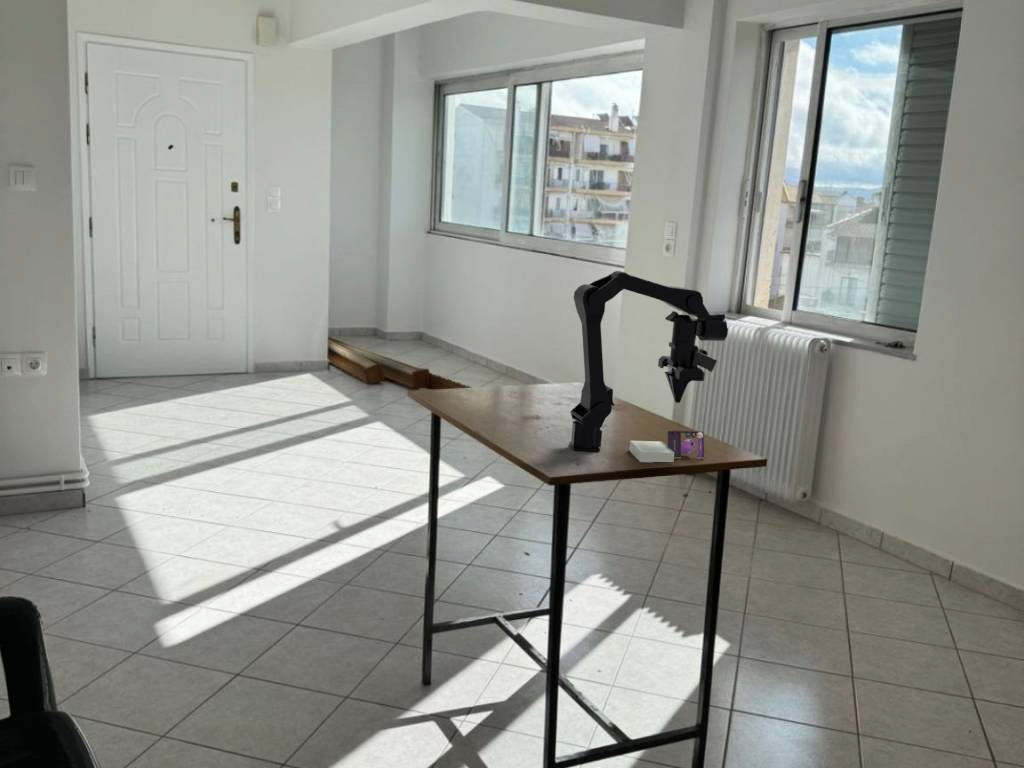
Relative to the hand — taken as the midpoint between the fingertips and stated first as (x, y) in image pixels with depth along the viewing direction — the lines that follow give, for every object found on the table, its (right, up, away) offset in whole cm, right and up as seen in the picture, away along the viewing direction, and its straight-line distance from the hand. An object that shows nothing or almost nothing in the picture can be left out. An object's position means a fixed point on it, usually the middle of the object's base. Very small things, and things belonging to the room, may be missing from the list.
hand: (677, 402), depth 234 cm
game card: (0, -13, -5) cm, 14 cm away
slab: (-8, -13, -8) cm, 17 cm away
